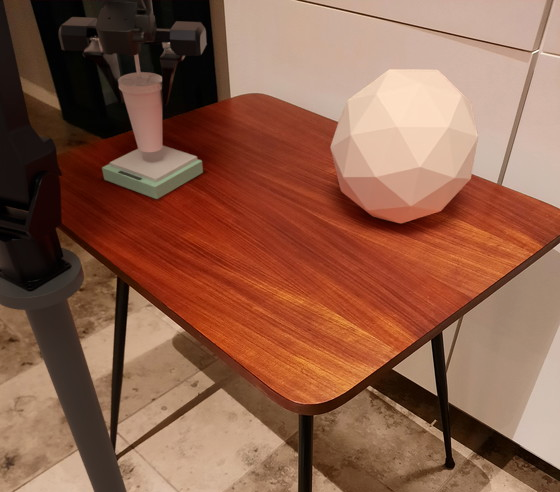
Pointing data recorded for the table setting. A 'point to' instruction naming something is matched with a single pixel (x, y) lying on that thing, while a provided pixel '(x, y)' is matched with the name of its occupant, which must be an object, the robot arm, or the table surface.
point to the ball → (405, 144)
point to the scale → (153, 171)
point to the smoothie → (144, 107)
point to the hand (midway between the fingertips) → (143, 103)
